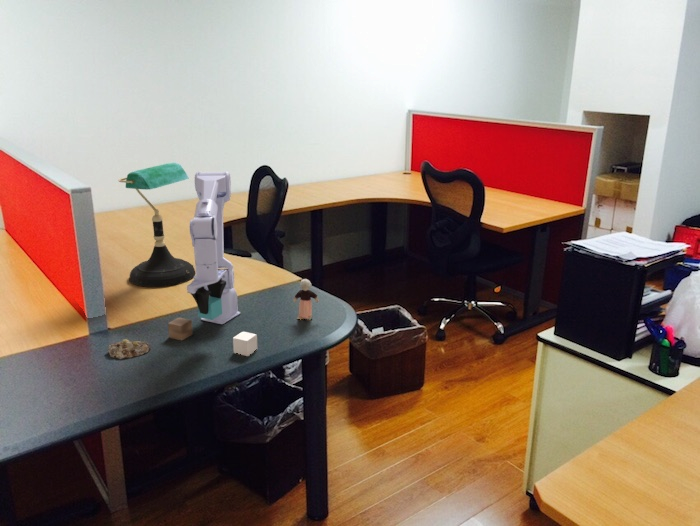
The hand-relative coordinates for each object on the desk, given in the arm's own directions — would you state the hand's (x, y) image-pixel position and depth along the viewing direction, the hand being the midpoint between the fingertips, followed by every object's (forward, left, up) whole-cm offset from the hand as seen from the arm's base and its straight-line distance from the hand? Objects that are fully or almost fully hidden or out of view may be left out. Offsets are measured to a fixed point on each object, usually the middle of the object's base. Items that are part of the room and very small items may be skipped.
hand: (209, 309), depth 158 cm
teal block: (0, 0, -2) cm, 2 cm away
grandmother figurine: (-26, +15, -10) cm, 32 cm away
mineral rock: (+14, -16, -10) cm, 24 cm away
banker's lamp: (-37, -51, -10) cm, 64 cm away
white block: (0, +11, -10) cm, 15 cm away
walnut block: (0, -11, -10) cm, 15 cm away
